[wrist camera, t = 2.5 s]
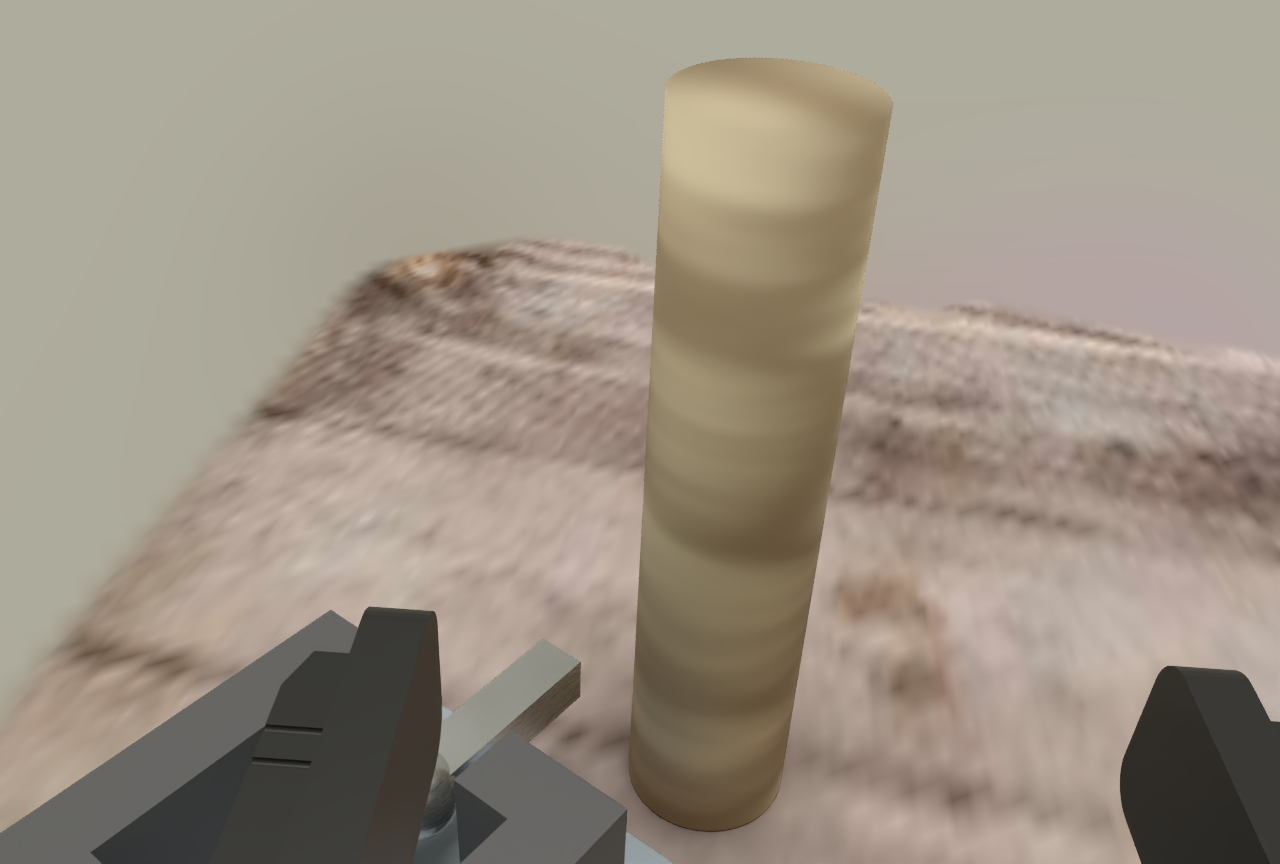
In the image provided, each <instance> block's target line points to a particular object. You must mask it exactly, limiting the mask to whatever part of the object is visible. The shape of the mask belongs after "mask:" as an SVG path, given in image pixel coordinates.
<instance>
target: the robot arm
mask: <svg viewBox="0 0 1280 864" xmlns="http://www.w3.org/2000/svg"><path fill="white" fill-rule="evenodd" d="M441 725H442V696H441V678H440V661H439V643H438V626H437V617H436V614H435V612H434V611H423V610H409V609H395V608H381V607H368V608H367V609H366V610H365V612H364V614H363V616H362V619H361V621H360V624H359V627H358V630H357V633H356V636H355V639H354V641H353V644H352V647H351V650H350V653H340V652H326V651H314V652H313V653H312V654H311V655H310V656H309V657H308V658H307V659H306V660H305V661H304V662H303V663H302V664H301V665H300V666H299V667H298V668H297V669H296V670H295V671H294V672H293V673H292V674H291V675H290V676H289V677H288V678H287V679H286V680H285V681H284V682H283V683H282V684H281V686H280V689H279V691H278V694H277V696H276V699H275V701H274V704H273V706H272V709H271V711H270V714H269V716H268V719H267V721H266V724H265V731H264V732H262V733H261V736H260V738H259V741H258V743H257V746H256V748H255V751H254V753H253V756H252V763H251V765H249V766H248V768H247V771H246V773H245V776H244V778H243V781H242V783H241V786H240V788H239V791H238V793H237V795H236V798H235V800H234V803H233V805H232V808H231V810H230V813H229V815H228V818H227V820H226V823H225V825H224V828H223V830H222V833H221V835H220V838H219V840H218V843H217V845H216V848H215V850H214V853H213V855H212V857H211V860H210V862H209V864H412V863H413V859H414V855H415V851H416V847H417V842H418V838H419V834H420V830H421V826H422V821H423V817H424V813H425V809H426V804H427V800H428V796H429V792H430V788H431V783H432V779H433V775H434V771H435V767H436V762H437V757H438V751H439V744H440V736H441ZM1120 794H1121V802H1122V808H1123V812H1124V815H1125V819H1126V821H1127V824H1128V827H1129V830H1130V833H1131V835H1132V838H1133V841H1134V844H1135V847H1136V849H1137V852H1138V855H1139V858H1140V861H1141V863H1142V864H1280V722H1273V721H1270V719H1269V717H1268V715H1267V713H1266V711H1265V709H1264V707H1263V705H1262V703H1261V702H1260V700H1259V698H1258V696H1257V694H1256V692H1255V690H1254V688H1253V686H1252V684H1251V683H1250V681H1249V679H1248V678H1247V677H1246V676H1245V675H1244V674H1243V673H1241V672H1239V671H1236V670H1222V669H1208V668H1194V667H1179V666H1167V667H1165V668H1164V669H1162V670H1161V672H1160V673H1159V674H1158V676H1157V678H1156V681H1155V683H1154V685H1153V688H1152V690H1151V693H1150V695H1149V697H1148V700H1147V702H1146V705H1145V707H1144V709H1143V712H1142V714H1141V717H1140V719H1139V721H1138V724H1137V726H1136V729H1135V731H1134V734H1133V736H1132V738H1131V741H1130V743H1129V746H1128V748H1127V750H1126V753H1125V755H1124V758H1123V762H1122V766H1121V774H1120Z"/></svg>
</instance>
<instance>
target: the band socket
mask: <svg viewBox="0 0 1280 864" xmlns="http://www.w3.org/2000/svg"><path fill="white" fill-rule="evenodd" d="M357 630H358V628H357V627H356V626H354V625H353V624H351V623H350V622H348V621H347V620H345V619H344V618H342V617H341V616H339V615H338V614H336V613H335V612H333V611H332V610H330V611H328V612H327V613H325V614H324V615H322V616H321V617H319V618H318V619H316V620H315V621H313V622H312V623H311V624H309V625H308V626H306V627H305V628H303V629H302V630H300V631H299V632H297V633H296V634H294V635H293V636H291V637H290V638H288V639H287V640H285V641H284V642H282V643H281V644H279V645H278V646H277V647H275V648H274V649H272V650H271V651H269V652H268V653H266V654H265V655H263V656H262V657H260V658H259V659H257V660H256V661H254V662H253V663H251V664H250V665H248V666H247V667H245V668H244V669H243V670H241V671H240V672H238V673H237V674H235V675H234V676H232V677H231V678H229V679H228V680H226V681H225V682H223V683H222V684H220V685H219V686H217V687H216V688H214V689H213V690H211V691H210V692H209V693H207V694H206V695H204V696H203V697H201V698H200V699H198V700H197V701H195V702H194V703H192V704H191V705H189V706H188V707H186V708H185V709H183V710H182V711H180V712H179V713H177V714H176V715H175V716H173V717H172V718H170V719H169V720H167V721H166V722H164V723H163V724H161V725H160V726H158V727H157V728H155V729H154V730H152V731H151V732H149V733H148V734H146V735H145V736H143V737H142V738H141V739H139V740H138V741H136V742H135V743H133V744H132V745H130V746H129V747H127V748H126V749H124V750H123V751H121V752H120V753H118V754H117V755H115V756H114V757H112V758H111V759H109V760H108V761H107V762H105V763H104V764H102V765H101V766H99V767H98V768H96V769H95V770H93V771H92V772H90V773H89V774H87V775H86V776H84V777H83V778H81V779H80V780H78V781H77V782H75V783H74V784H73V785H71V786H70V787H68V788H67V789H65V790H64V791H62V792H61V793H59V794H58V795H56V796H55V797H53V798H52V799H50V800H49V801H47V802H46V803H44V804H43V805H41V806H40V807H39V808H37V809H36V810H34V811H33V812H31V813H30V814H28V815H27V816H25V817H24V818H22V819H21V820H19V821H18V822H16V823H15V824H13V825H12V826H10V827H9V828H7V829H6V830H5V831H3V832H2V833H0V864H209V862H210V860H211V857H212V855H213V853H214V850H215V848H216V845H217V843H218V840H219V838H220V835H221V833H222V830H223V828H224V825H225V823H226V820H227V818H228V815H229V813H230V810H231V808H232V805H233V803H234V800H235V798H236V795H237V793H238V791H239V788H240V786H241V783H242V781H243V778H244V776H245V773H246V771H247V768H248V766H249V765H251V763H252V756H253V753H254V751H255V748H256V746H257V743H258V741H259V738H260V736H261V733H262V732H264V731H265V724H266V721H267V719H268V716H269V714H270V711H271V709H272V706H273V704H274V701H275V699H276V696H277V694H278V691H279V689H280V686H281V684H282V683H283V682H284V681H285V680H286V679H287V678H288V677H289V676H290V675H291V674H292V673H293V672H294V671H295V670H296V669H297V668H298V667H299V666H300V665H301V664H302V663H303V662H304V661H305V660H306V659H307V658H308V657H309V656H310V655H311V654H312V653H313V652H314V651H326V652H340V653H350V650H351V647H352V644H353V641H354V639H355V636H356V633H357ZM452 713H453V712H451V711H450V710H448V709H447V708H445V707H444V706H443V705H442V721H444V720H445V719H446V718H447V717H448V716H450V715H451V714H452ZM454 790H455V803H456V814H455V816H454V818H453V820H452V821H451V822H450V824H449V825H448V826H447V827H446V828H445V829H444V830H443V831H442V832H441V833H439V834H438V835H436V836H435V837H433V838H431V839H428V840H426V841H422V842H417V847H416V851H415V855H414V859H413V863H412V864H673V863H672V862H671V861H669V860H668V859H666V858H665V857H663V856H662V855H660V854H659V853H657V852H656V851H654V850H653V849H652V848H650V847H649V846H647V845H646V844H644V843H643V842H641V841H640V840H638V839H637V838H635V837H634V836H633V835H631V834H630V833H628V832H627V831H626V824H627V809H626V808H625V807H623V806H622V805H620V804H619V803H617V802H616V801H614V800H613V799H611V798H610V797H609V796H607V795H606V794H604V793H603V792H601V791H600V790H598V789H597V788H595V787H594V786H592V785H591V784H589V783H588V782H586V781H585V780H583V779H582V778H580V777H579V776H577V775H576V774H574V773H573V772H571V771H570V770H568V769H567V768H565V767H564V766H562V765H561V764H559V763H558V762H556V761H555V760H553V759H552V758H551V757H549V756H548V755H546V754H545V753H543V752H542V751H540V750H539V749H537V748H536V747H534V746H533V745H531V744H530V743H528V742H527V741H525V740H524V739H522V738H521V737H519V736H518V735H516V734H515V733H513V732H512V731H509V732H508V733H507V734H506V735H505V736H503V737H502V738H501V739H500V740H499V741H498V742H497V743H495V744H494V745H493V746H492V747H491V748H490V749H489V750H487V751H486V752H485V753H484V754H483V755H482V756H481V757H479V758H478V759H477V760H476V761H475V762H474V763H473V764H471V765H470V766H469V767H468V768H467V769H466V770H465V771H463V772H462V773H461V774H460V775H459V776H458V777H457V778H455V779H454Z"/></svg>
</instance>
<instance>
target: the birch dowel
mask: <svg viewBox="0 0 1280 864" xmlns="http://www.w3.org/2000/svg"><path fill="white" fill-rule="evenodd" d="M892 107H893V102H892V99H891V97H890V96H889V94H888V93H887V92H886V91H885V90H884V89H883V88H881V87H880V86H879V85H877V84H876V83H874V82H872V81H870V80H868V79H866V78H864V77H862V76H859V75H857V74H853V73H851V72H848V71H845V70H841V69H838V68H834V67H830V66H826V65H821V64H815V63H810V62H804V61H797V60H787V59H774V58H737V59H725V60H716V61H711V62H705V63H701V64H697V65H694V66H691V67H688V68H685V69H683V70H681V71H679V72H677V73H676V74H674V75H673V76H672V77H671V78H670V79H669V80H668V82H667V83H666V89H665V107H664V108H665V109H664V125H663V143H662V163H661V181H660V199H659V218H658V236H657V255H656V273H655V292H654V310H653V329H652V347H651V366H650V384H649V403H648V421H647V440H646V458H645V477H644V495H643V514H642V532H641V551H640V569H639V588H638V606H637V625H636V643H635V662H634V680H633V699H632V717H631V736H630V755H629V773H630V777H631V781H632V783H633V786H634V788H635V790H636V792H637V794H638V795H639V797H640V798H641V799H642V801H643V802H644V803H645V804H646V805H647V806H648V807H649V808H650V809H651V810H652V811H653V812H655V813H656V814H657V815H659V816H660V817H662V818H664V819H665V820H667V821H669V822H671V823H674V824H676V825H678V826H682V827H685V828H688V829H693V830H699V831H722V830H729V829H733V828H737V827H740V826H742V825H745V824H747V823H749V822H751V821H753V820H754V819H756V818H757V817H759V816H760V815H761V814H763V813H764V812H765V811H766V810H767V809H768V808H769V807H770V805H771V804H772V802H773V801H774V799H775V797H776V795H777V793H778V790H779V787H780V783H781V777H782V771H783V765H784V759H785V753H786V747H787V741H788V735H789V728H790V722H791V716H792V710H793V704H794V698H795V692H796V686H797V680H798V674H799V668H800V662H801V656H802V650H803V644H804V638H805V632H806V626H807V620H808V614H809V608H810V602H811V596H812V590H813V584H814V578H815V572H816V566H817V560H818V554H819V548H820V542H821V536H822V530H823V524H824V518H825V512H826V506H827V500H828V494H829V487H830V481H831V475H832V469H833V463H834V457H835V451H836V445H837V439H838V433H839V427H840V421H841V415H842V409H843V403H844V397H845V391H846V385H847V379H848V373H849V367H850V361H851V355H852V349H853V343H854V337H855V331H856V325H857V319H858V313H859V307H860V301H861V295H862V289H863V283H864V277H865V271H866V264H867V258H868V253H869V246H870V240H871V234H872V228H873V222H874V216H875V210H876V204H877V198H878V192H879V186H880V180H881V174H882V168H883V162H884V156H885V150H886V144H887V138H888V132H889V126H890V120H891V114H892Z"/></svg>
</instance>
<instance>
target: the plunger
mask: <svg viewBox="0 0 1280 864" xmlns="http://www.w3.org/2000/svg"><path fill="white" fill-rule="evenodd" d="M580 669H581V662H580V661H579V660H577V659H575V658H574V657H572V656H570V655H569V654H567V653H565V652H564V651H562V650H561V649H559V648H557V647H556V646H554V645H552V644H551V643H549V642H547V641H546V640H544V639H542V640H541V641H540V642H539V643H537V644H536V645H535V646H534V647H532V648H531V649H530V650H529V651H528V652H526V653H525V654H524V655H523V656H521V657H520V658H519V659H518V660H517V661H515V662H514V663H513V664H512V665H511V666H509V667H508V668H507V669H506V670H504V671H503V672H502V673H501V674H500V675H498V676H497V677H496V678H495V679H494V680H492V681H491V682H490V683H489V684H487V685H486V686H485V687H484V688H483V689H481V690H480V691H479V692H478V693H476V694H475V695H474V696H473V697H472V698H470V699H469V700H468V701H467V702H466V703H464V704H463V705H462V706H461V707H459V708H458V709H457V710H456V711H455V712H453V713H452V714H451V715H450V716H448V717H447V718H446V719H445V720H444V721H442V725H441V736H440V744H439V751H438V757H437V762H436V767H435V771H434V775H433V779H432V783H431V788H430V792H429V796H428V800H427V804H426V809H425V813H424V817H423V821H422V826H421V830H420V834H419V838H418V842H422V841H426V840H428V839H431V838H433V837H435V836H436V835H438V834H439V833H441V832H442V831H443V830H444V829H445V828H446V827H447V826H448V825H449V824H450V822H451V821H452V820H453V818H454V816H455V814H456V803H455V790H454V779H455V778H457V777H458V776H459V775H460V774H461V773H462V772H463V771H465V770H466V769H467V768H468V767H469V766H470V765H471V764H473V763H474V762H475V761H476V760H477V759H478V758H479V757H481V756H482V755H483V754H484V753H485V752H486V751H487V750H489V749H490V748H491V747H492V746H493V745H494V744H495V743H497V742H498V741H499V740H500V739H501V738H502V737H503V736H505V735H506V734H507V733H508V732H509V731H512V732H513V733H515V734H516V735H518V736H519V737H521V738H522V739H524V740H525V741H527V742H528V743H529V742H530V741H531V740H532V739H533V738H534V737H535V736H537V735H538V734H539V733H540V732H541V731H542V730H543V729H544V728H545V727H547V726H548V725H549V724H550V723H551V722H552V721H553V720H554V719H555V718H557V717H558V716H559V715H560V714H561V713H562V712H563V711H564V710H565V709H567V708H568V707H569V706H570V705H571V704H572V703H573V702H574V701H576V700H577V699H578V698H579V697H580Z"/></svg>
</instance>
